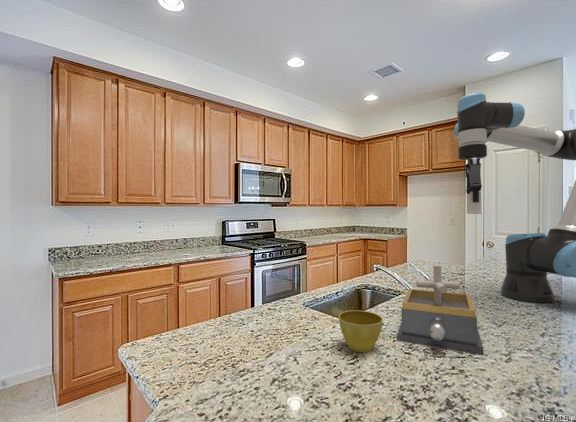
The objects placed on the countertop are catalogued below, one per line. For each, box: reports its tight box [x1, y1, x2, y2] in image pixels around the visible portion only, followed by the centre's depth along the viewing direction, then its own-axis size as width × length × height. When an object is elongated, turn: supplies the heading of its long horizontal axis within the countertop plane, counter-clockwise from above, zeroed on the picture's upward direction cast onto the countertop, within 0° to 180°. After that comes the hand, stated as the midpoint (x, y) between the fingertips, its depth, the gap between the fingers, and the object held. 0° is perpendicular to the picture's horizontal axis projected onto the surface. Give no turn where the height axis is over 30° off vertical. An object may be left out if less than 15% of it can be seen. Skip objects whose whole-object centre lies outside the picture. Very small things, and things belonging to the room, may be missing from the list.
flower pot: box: [338, 309, 384, 353], centre depth 71 cm, size 10×10×7 cm
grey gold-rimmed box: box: [396, 288, 484, 355], centre depth 77 cm, size 18×22×9 cm
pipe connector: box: [416, 264, 461, 305], centre depth 79 cm, size 10×10×10 cm
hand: (473, 213), depth 94 cm, fingers open, 13 cm apart
